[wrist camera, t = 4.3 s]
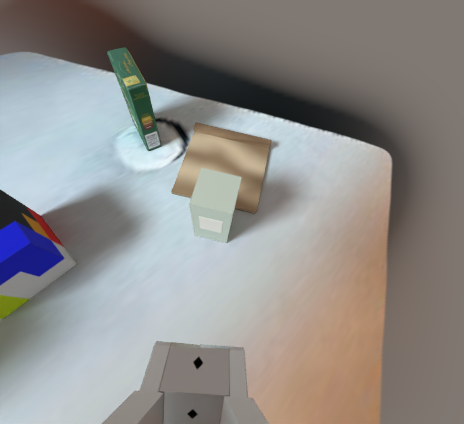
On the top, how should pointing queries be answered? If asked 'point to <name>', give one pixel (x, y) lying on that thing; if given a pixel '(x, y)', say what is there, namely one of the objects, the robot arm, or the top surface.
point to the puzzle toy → (26, 255)
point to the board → (225, 162)
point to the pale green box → (214, 204)
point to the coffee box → (136, 96)
